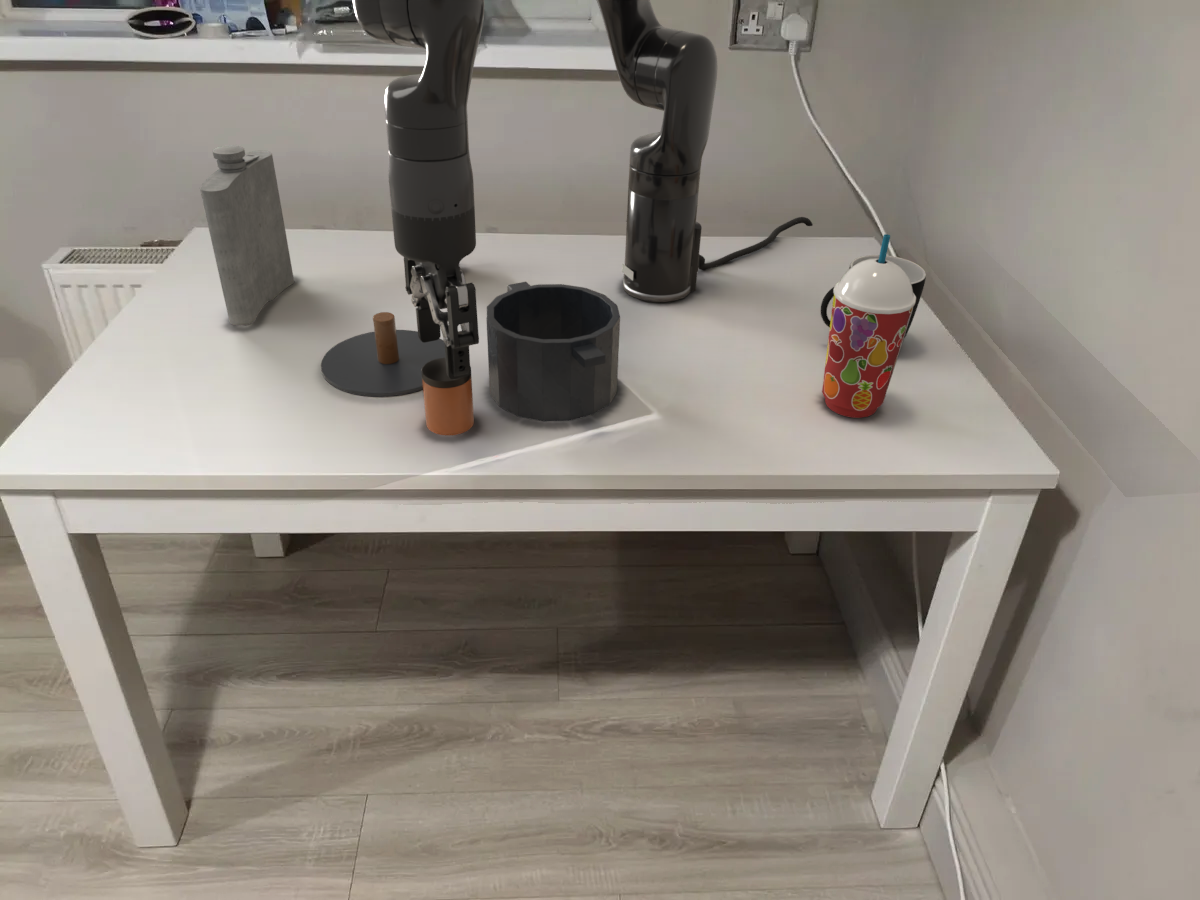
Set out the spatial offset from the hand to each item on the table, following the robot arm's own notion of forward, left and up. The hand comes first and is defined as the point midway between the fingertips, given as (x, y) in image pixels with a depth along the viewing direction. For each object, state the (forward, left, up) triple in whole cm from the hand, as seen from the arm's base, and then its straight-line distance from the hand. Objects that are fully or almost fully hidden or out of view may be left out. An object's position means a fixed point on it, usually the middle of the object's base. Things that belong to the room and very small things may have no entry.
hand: (443, 357), depth 92 cm
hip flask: (+12, -39, -9) cm, 42 cm away
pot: (-13, -2, -8) cm, 16 cm away
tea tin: (0, 0, -8) cm, 8 cm away
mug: (-53, +4, -9) cm, 54 cm away
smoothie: (-42, +15, -9) cm, 46 cm away
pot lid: (+2, -15, -8) cm, 17 cm away
